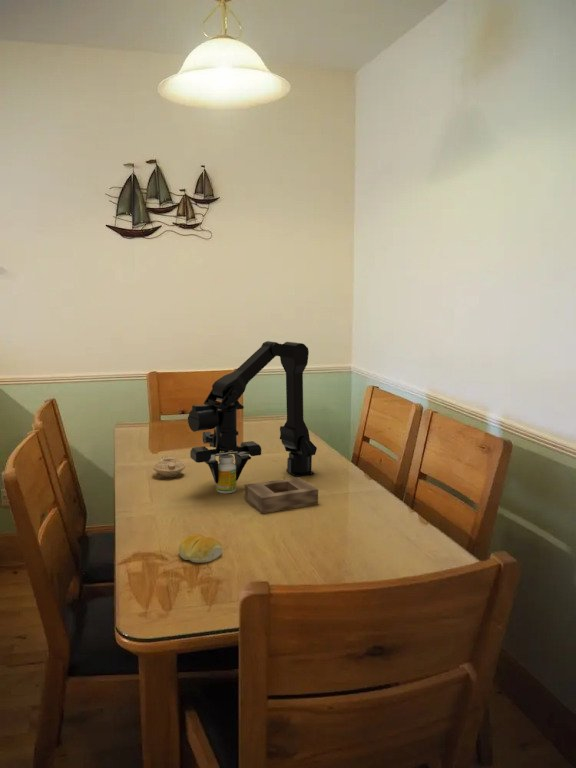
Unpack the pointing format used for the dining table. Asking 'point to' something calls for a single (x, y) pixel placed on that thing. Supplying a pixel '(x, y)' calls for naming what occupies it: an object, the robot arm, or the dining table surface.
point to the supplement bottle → (226, 474)
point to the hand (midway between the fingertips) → (226, 481)
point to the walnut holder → (281, 495)
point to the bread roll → (200, 548)
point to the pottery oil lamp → (169, 466)
